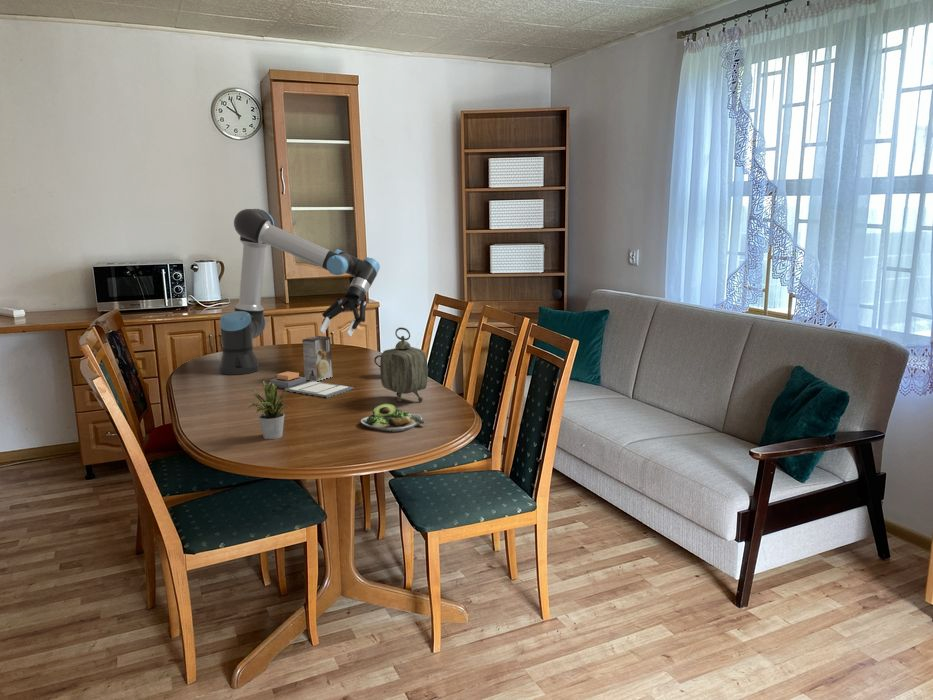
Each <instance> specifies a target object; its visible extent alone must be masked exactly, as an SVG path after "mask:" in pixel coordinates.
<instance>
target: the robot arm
mask: <svg viewBox="0 0 933 700" xmlns="http://www.w3.org/2000/svg"><path fill="white" fill-rule="evenodd" d="M233 219H234V220H233V227H234V230H235V231H236V233H237V234H238V235H239V236H240V237H239V242H241V244H242V246H243V248H242V259H241V272H240V273H241V274H240V284H239V285H240V286H239V296H238V297H239V298H238V303H236V305H235V306H234V311H230V312H226V313H224V314H222V315H221V316H220V319H219V320H220V321H219V326H220V335H221V347H222V348H221V349H222V354H221V358H220V363H219V367H218V368H219V369H218V371H219V373H220V374H222V375H227V376H228V375H229V376H230V375H235V376H236V375H245V374H252V373H255V372H257V371H259V370H260V369H259V363H258V360H257V357H256V355H255V353H254V348H253V346H254V345H253V339H256V338H258V337H259V336H261V334H262V333H263V332H264V330H265V329H266V318H265V316H264V312H265V311H264V310H265V309H264V307H263V306H262V304H261V302H262V289H263V278H264V269H265V268H264V267H265V266H264V265H265V254H266V248H267V247H268V246H271V247H274V248H276V249H278V250H279V251H283V252H285V253H287V254H289V255H292V256H294V257H296V258H299V259H302V260H304V261H306V262H308V263H311V264H313V265H314V266H317V267H320V268H322V269H324V270H326V271H328V272H329V273H330V274H331V275H334V276H341V275H344V274H347V275H350V276H352V277H353V279H352V281H351V282H350V284H349V286H348V288H347V290H346V292H345V294H344V295H345V296H344V298H343V299H341V298H340V297H338V298H336V300H335V301H334V302H333V303H332V304H331V305H330V306H329V307H328V308H326V309H325V311H323V312H322V313H321V316H323V321H322V322H321V325H320V327H319V329H318V331H319V332H320V333H321V334H322V335H325V333H326V331H327V329H328V328H329V326H330V324H331V322H332V319H334V318H335V317H337V316H338V315H340V314H341V313H342V312H343V313H344V312H345V311H346V312H348V311H350V312H352V313H353V317H354V318H353V319H352V321H351V322H350V324H349V326H348V328H347V329H346V331H345V333H346V335H347V336H348V337H349V338H351V337H352V335H353V333H354V331H355V330H356V329H357V328H358V326H359V324H361V323H365V322H366V307H367V304H368V303H367V302H366V301H365V298H366V296H367V294H368V292H369V290H370V288H371V286H372V284H373V283H374V280H375V279H376V277H377V276H378V273H379V271H380V269H381V266H380V263H379V262H378V261H377V260H376V259H375V258H372V257H369V256H368V257H365V258H364V259H360V258H357V257H355V256H354V255H351V254H349V253H348V252H346V251H344V250H340V249H338V248H337V249H335V250H334V251H332V250H330V249H328V248H326V247H323V246H322V245H321V246H320V245H318V244H316V243H314V242H312V241H310V240H307V239H305V238H302V237H300V236H298V235H296V234H294V233H290V232H288V231H287V230H285V229H282V228H280V227H277V226H275V222H274V219H273V216H271V214H270V213H268V211H266V210H263V209H260V208H245V209H242V210H240V211H239V212H238V213H236V215H235V217H234V218H233ZM358 307H359V310H358Z"/></svg>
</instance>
